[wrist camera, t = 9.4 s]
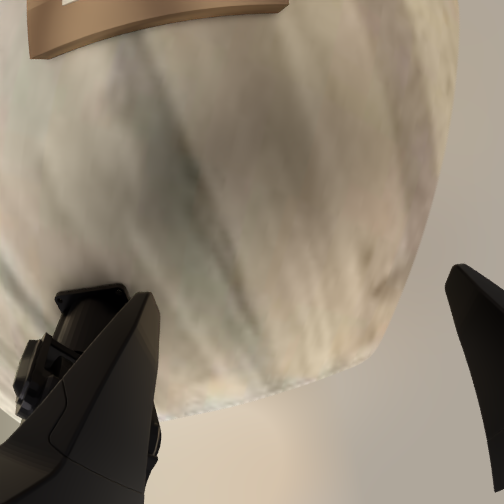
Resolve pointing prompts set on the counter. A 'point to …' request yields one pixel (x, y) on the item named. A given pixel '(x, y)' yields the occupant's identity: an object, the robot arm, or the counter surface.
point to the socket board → (119, 19)
